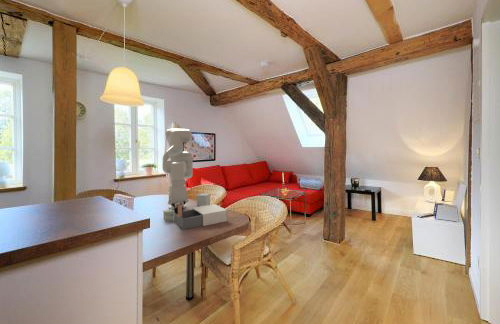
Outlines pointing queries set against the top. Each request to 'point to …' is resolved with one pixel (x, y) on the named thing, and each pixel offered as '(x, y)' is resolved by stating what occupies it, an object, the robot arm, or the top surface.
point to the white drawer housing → (212, 214)
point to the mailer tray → (187, 218)
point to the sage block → (168, 215)
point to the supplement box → (203, 199)
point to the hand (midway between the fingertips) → (178, 213)
